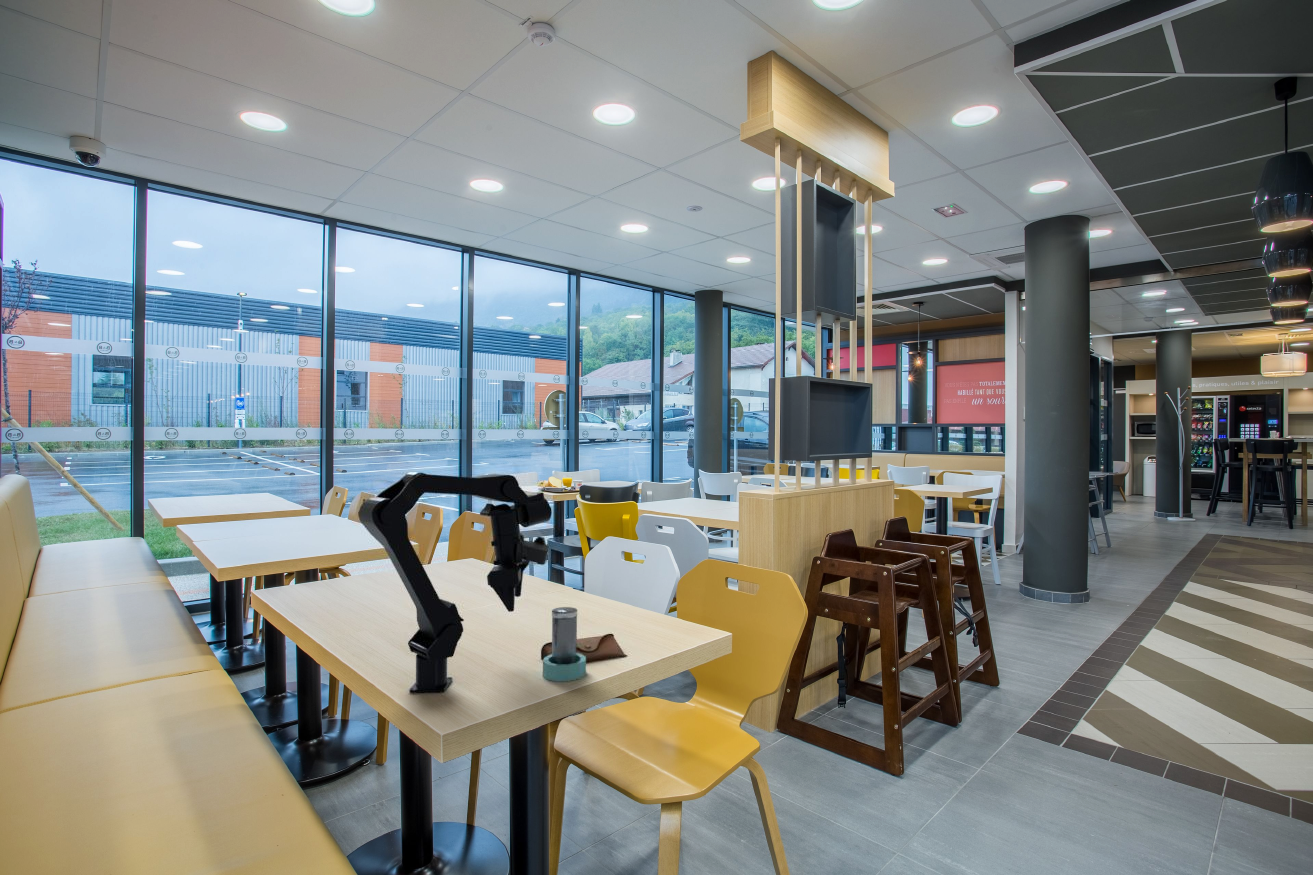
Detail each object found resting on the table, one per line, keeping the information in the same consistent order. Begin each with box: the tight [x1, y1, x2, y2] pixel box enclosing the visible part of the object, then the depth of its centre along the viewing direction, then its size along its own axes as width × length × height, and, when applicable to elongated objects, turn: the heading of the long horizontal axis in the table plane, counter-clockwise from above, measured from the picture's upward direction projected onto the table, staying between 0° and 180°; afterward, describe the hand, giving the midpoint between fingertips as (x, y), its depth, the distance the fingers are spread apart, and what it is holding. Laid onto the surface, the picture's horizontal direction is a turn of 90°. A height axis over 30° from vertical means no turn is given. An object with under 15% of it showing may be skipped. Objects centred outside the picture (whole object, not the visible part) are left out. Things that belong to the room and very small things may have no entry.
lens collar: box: [542, 653, 587, 682], centre depth 130 cm, size 9×9×3 cm
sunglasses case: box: [540, 633, 628, 664], centre depth 141 cm, size 18×7×7 cm
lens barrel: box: [551, 606, 578, 664], centre depth 130 cm, size 5×5×13 cm
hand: (514, 603), depth 136 cm, fingers open, 9 cm apart
